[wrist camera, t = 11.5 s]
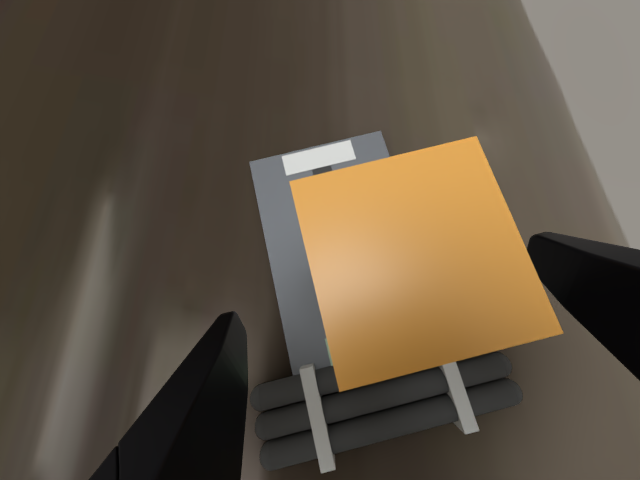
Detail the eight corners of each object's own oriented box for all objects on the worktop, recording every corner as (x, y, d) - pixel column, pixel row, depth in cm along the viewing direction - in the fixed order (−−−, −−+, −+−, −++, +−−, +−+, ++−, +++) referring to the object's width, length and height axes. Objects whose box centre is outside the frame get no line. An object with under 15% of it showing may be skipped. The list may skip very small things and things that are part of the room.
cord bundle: (484, 316, 17) (499, 318, 15) (518, 404, 16) (537, 414, 14) (250, 377, 16) (243, 384, 15) (266, 471, 15) (260, 490, 14)
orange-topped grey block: (393, 310, 16) (563, 333, 5) (331, 326, 16) (339, 391, 4) (375, 249, 17) (476, 136, 5) (316, 264, 17) (289, 181, 5)
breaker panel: (447, 336, 17) (452, 338, 16) (294, 376, 16) (293, 379, 16) (379, 135, 20) (380, 130, 19) (251, 166, 20) (249, 161, 19)
